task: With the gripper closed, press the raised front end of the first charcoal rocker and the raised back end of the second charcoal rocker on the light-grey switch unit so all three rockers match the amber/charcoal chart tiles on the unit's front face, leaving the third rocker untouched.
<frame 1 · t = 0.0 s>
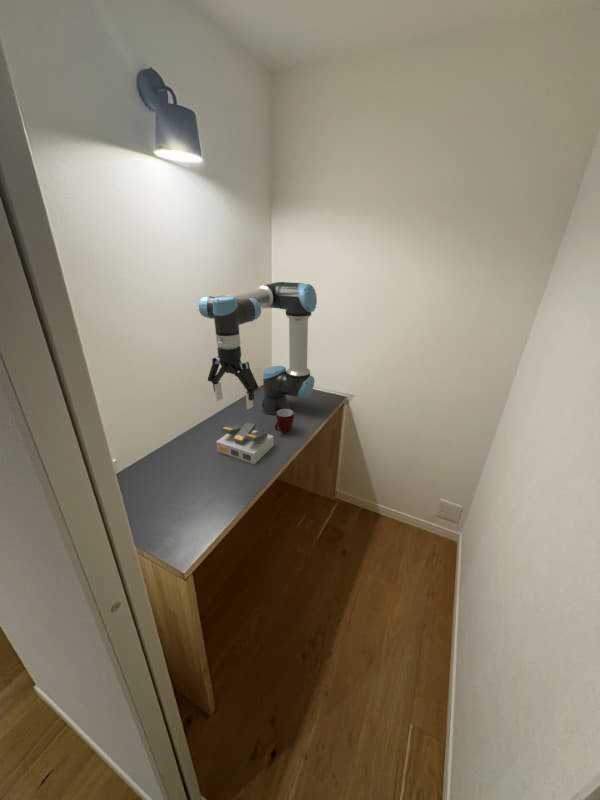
hand: (234, 403, 113), 28 cm above the table, fingers open, 13 cm apart
mug: (283, 432, 148), on the table
switch unit: (246, 448, 136), on the table
rocker 3: (256, 435, 130), point 8 cm above the table, hinge at -18.0°
rocker 1: (233, 428, 135), point 8 cm above the table, hinge at -18.0°
rocker 2: (244, 432, 133), point 8 cm above the table, hinge at 18.0°
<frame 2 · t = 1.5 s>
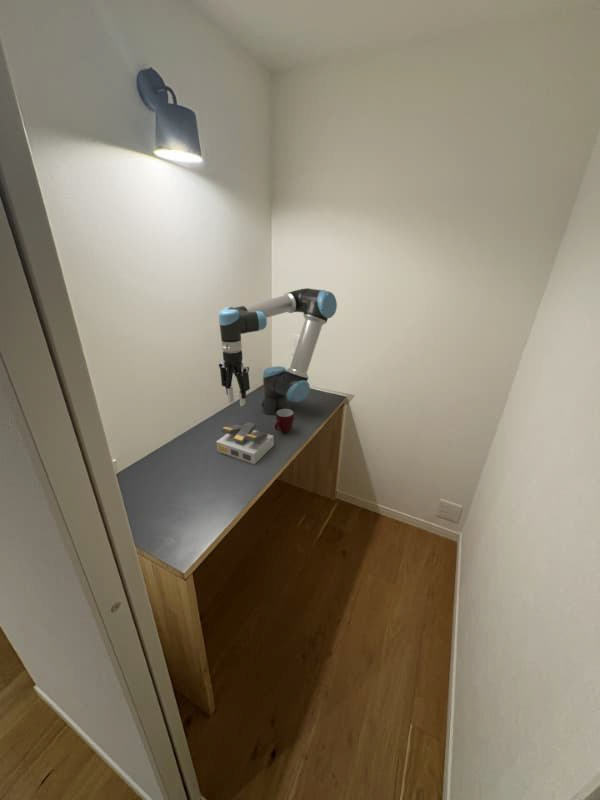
hand: (237, 403, 134), 19 cm above the table, fingers open, 5 cm apart
nothing on the table moved.
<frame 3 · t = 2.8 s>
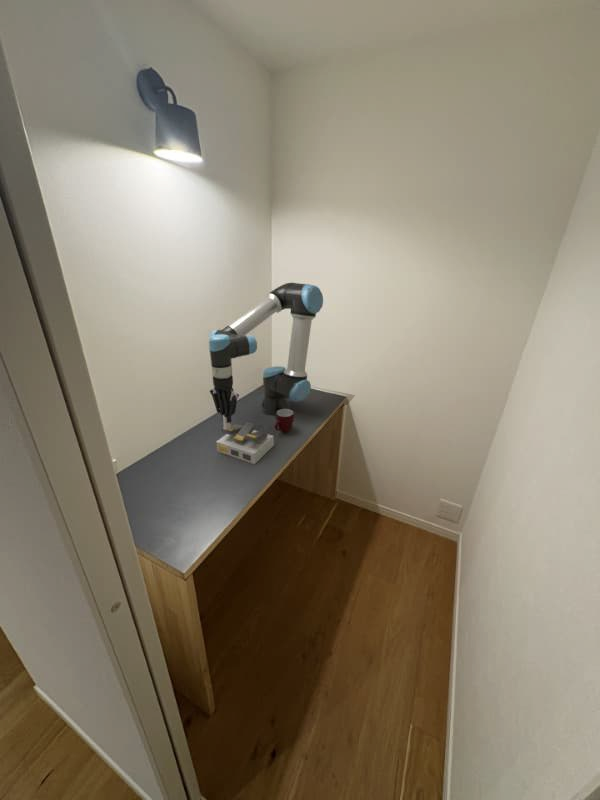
hand: (227, 428, 131), 10 cm above the table, fingers closed
rocker 1: (233, 428, 135), point 8 cm above the table, hinge at -16.0°, touching gripper
everything else where it was.
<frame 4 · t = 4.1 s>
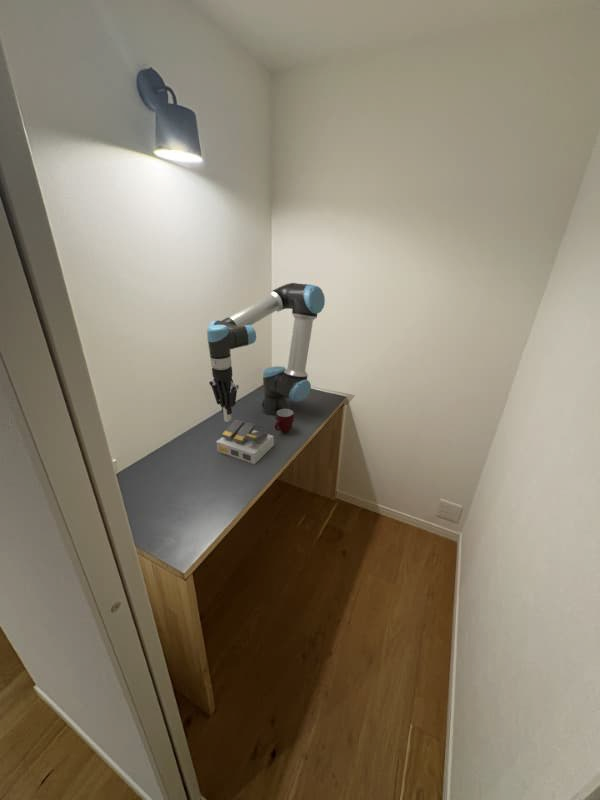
hand: (227, 420, 130), 14 cm above the table, fingers closed
rocker 1: (233, 429, 135), point 8 cm above the table, hinge at 15.5°
everything else where it was.
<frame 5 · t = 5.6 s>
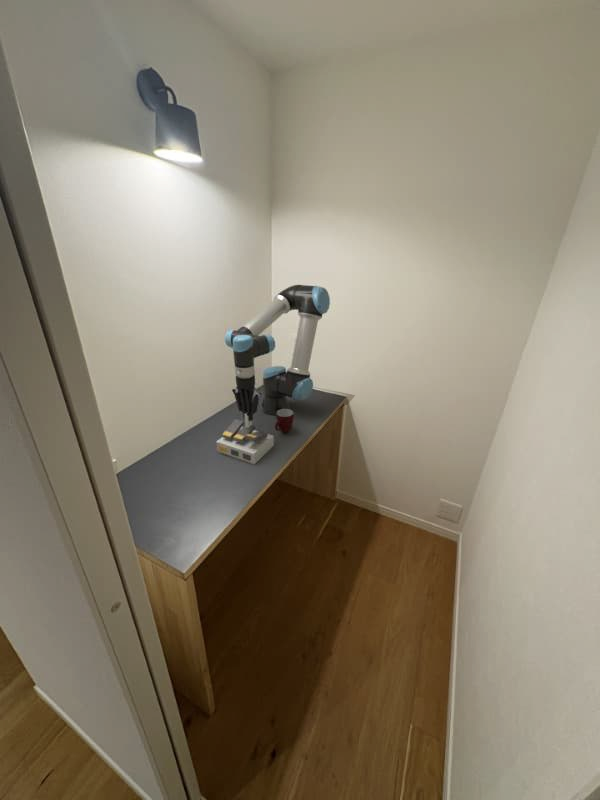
hand: (248, 426, 135), 9 cm above the table, fingers closed
rocker 1: (233, 429, 135), point 8 cm above the table, hinge at 17.0°
rocker 2: (244, 432, 133), point 8 cm above the table, hinge at 11.6°, touching gripper
everything else where it was.
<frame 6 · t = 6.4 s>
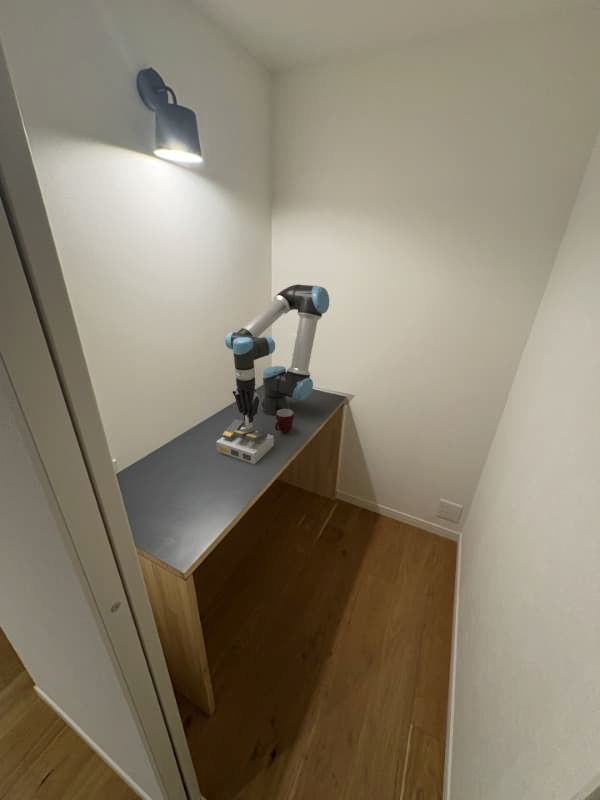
hand: (249, 427, 135), 9 cm above the table, fingers closed
rocker 2: (244, 432, 133), point 8 cm above the table, hinge at -18.3°
everything else where it was.
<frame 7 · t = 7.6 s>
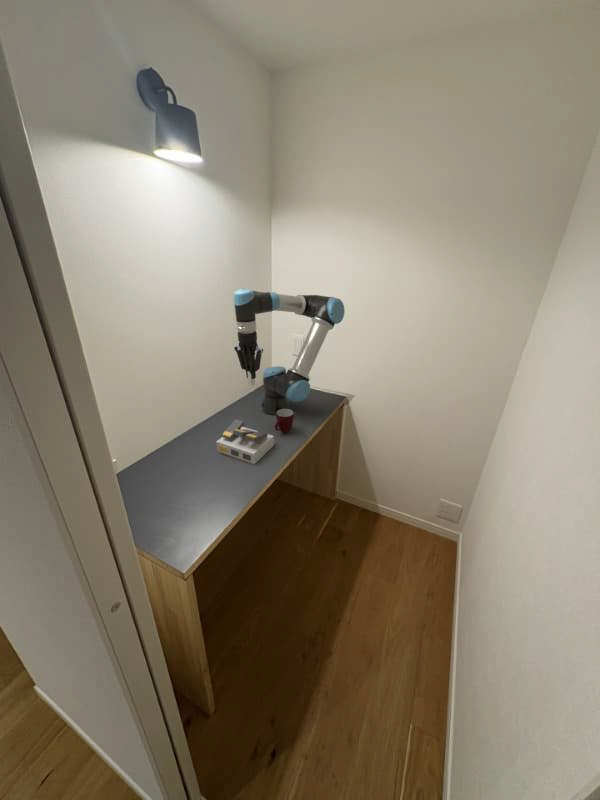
hand: (251, 385, 136), 25 cm above the table, fingers closed
rocker 2: (244, 432, 133), point 8 cm above the table, hinge at -26.5°
everything else where it was.
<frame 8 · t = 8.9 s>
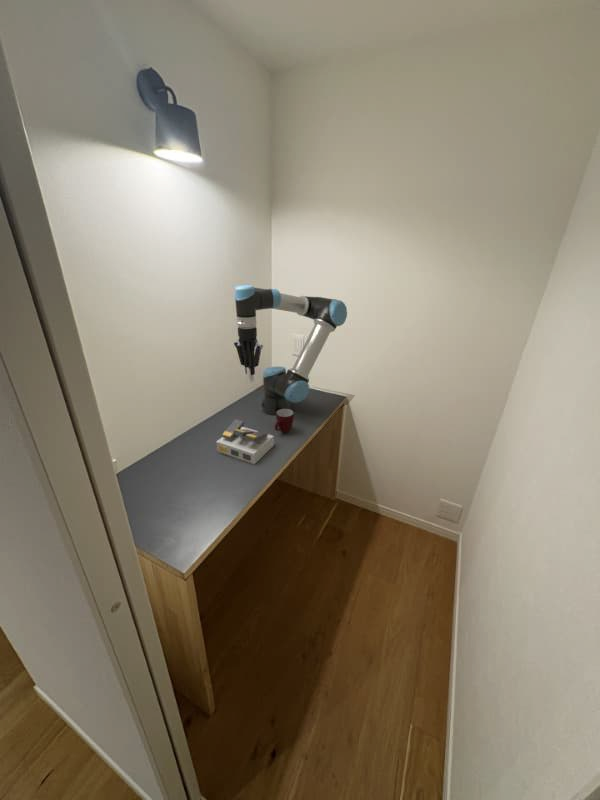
hand: (250, 381, 136), 26 cm above the table, fingers closed
rocker 2: (244, 432, 133), point 8 cm above the table, hinge at -27.0°, touching switch unit
everything else where it was.
at the end: rocker 1 at +17° (first picture: -18°); rocker 2 at -27° (first picture: +18°); rocker 3 at -18° (first picture: -18°) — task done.
